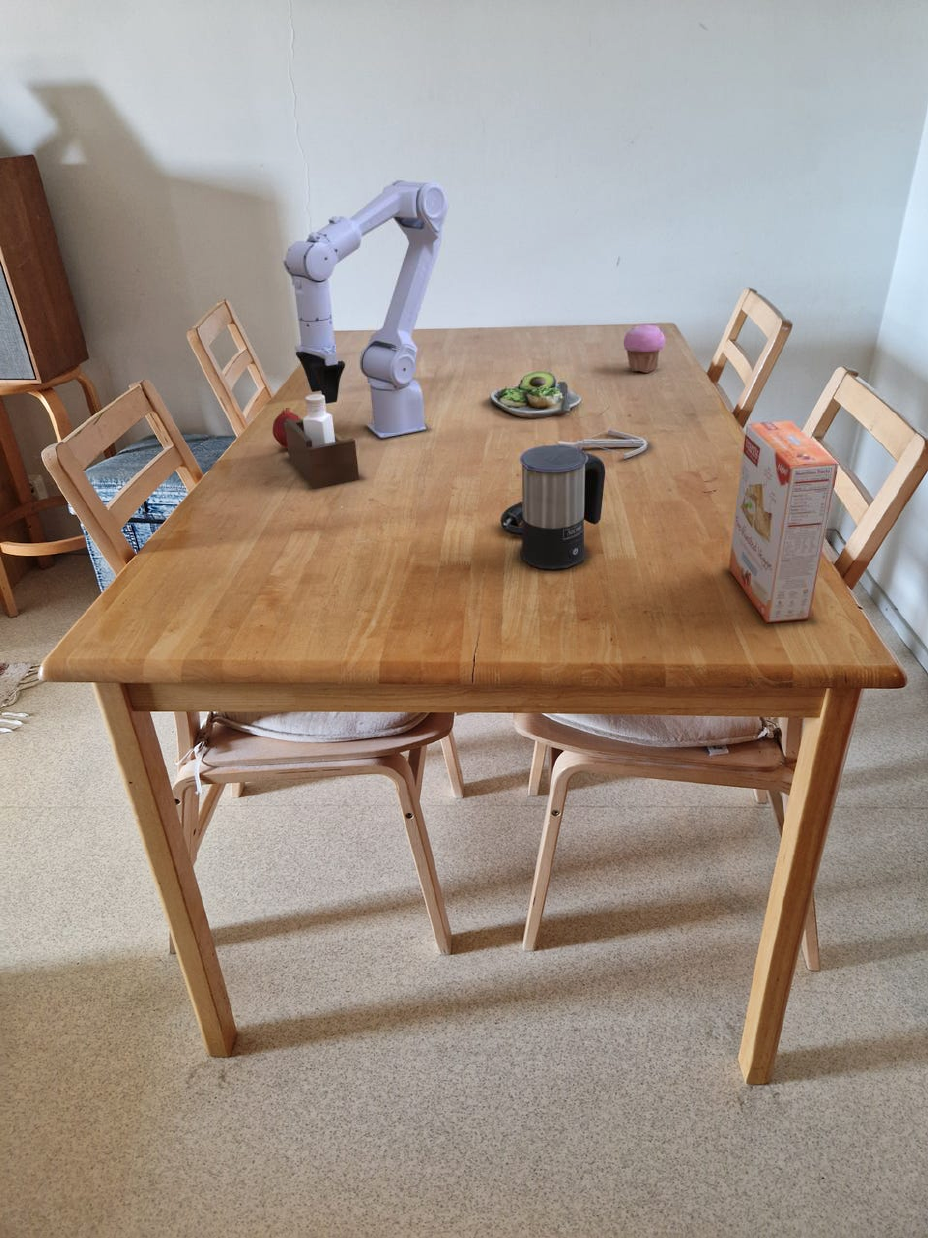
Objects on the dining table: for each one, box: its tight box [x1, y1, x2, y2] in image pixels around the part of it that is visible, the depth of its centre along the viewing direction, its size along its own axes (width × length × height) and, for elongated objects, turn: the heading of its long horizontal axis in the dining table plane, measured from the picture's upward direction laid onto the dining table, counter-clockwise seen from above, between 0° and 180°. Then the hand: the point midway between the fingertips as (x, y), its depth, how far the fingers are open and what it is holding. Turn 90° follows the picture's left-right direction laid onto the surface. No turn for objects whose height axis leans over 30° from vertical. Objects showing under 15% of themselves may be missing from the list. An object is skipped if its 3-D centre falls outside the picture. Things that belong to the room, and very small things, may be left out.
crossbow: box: [557, 428, 648, 460], centre depth 160 cm, size 16×13×2 cm
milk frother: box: [500, 444, 606, 570], centre depth 126 cm, size 14×16×15 cm
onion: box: [272, 406, 302, 449], centre depth 164 cm, size 6×6×8 cm
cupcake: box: [623, 324, 666, 374], centre depth 196 cm, size 9×9×10 cm
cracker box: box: [728, 420, 839, 624], centre depth 110 cm, size 14×6×21 cm, turn 5°
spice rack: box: [284, 418, 360, 490], centre depth 155 cm, size 8×15×8 cm, turn 25°
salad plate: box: [489, 371, 581, 419], centre depth 180 cm, size 19×18×5 cm
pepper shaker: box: [302, 393, 335, 446], centre depth 153 cm, size 4×4×10 cm
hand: (324, 396), depth 159 cm, fingers open, 7 cm apart
